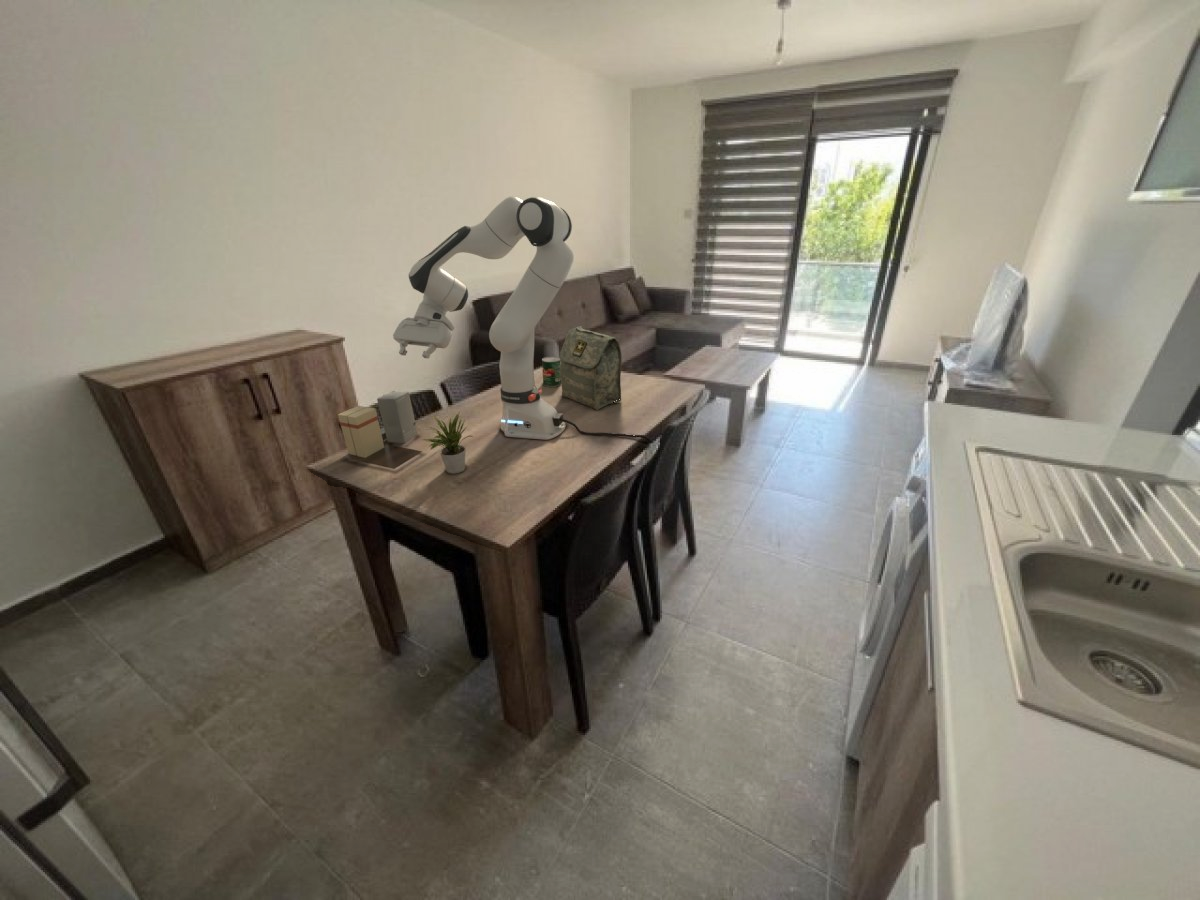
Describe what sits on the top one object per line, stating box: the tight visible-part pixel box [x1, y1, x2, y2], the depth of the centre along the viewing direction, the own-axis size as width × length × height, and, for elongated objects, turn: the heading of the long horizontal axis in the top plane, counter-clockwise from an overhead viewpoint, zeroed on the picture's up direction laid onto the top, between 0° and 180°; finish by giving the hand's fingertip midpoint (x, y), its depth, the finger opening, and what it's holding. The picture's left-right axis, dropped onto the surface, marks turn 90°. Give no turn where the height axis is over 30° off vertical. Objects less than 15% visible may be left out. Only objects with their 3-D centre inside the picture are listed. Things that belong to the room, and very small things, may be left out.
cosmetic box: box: [376, 390, 418, 444], centre depth 153 cm, size 8×7×16 cm
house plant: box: [422, 411, 474, 475], centre depth 136 cm, size 14×14×16 cm
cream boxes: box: [337, 405, 385, 458], centre depth 144 cm, size 7×8×13 cm
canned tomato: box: [541, 356, 561, 388], centre depth 205 cm, size 8×8×11 cm
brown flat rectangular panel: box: [342, 443, 423, 470], centre depth 145 cm, size 20×12×1 cm, turn 68°
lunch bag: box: [558, 325, 623, 411], centre depth 183 cm, size 22×16×27 cm
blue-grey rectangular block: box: [380, 426, 387, 441], centre depth 158 cm, size 4×10×3 cm, turn 158°
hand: (413, 355), depth 155 cm, fingers open, 8 cm apart
